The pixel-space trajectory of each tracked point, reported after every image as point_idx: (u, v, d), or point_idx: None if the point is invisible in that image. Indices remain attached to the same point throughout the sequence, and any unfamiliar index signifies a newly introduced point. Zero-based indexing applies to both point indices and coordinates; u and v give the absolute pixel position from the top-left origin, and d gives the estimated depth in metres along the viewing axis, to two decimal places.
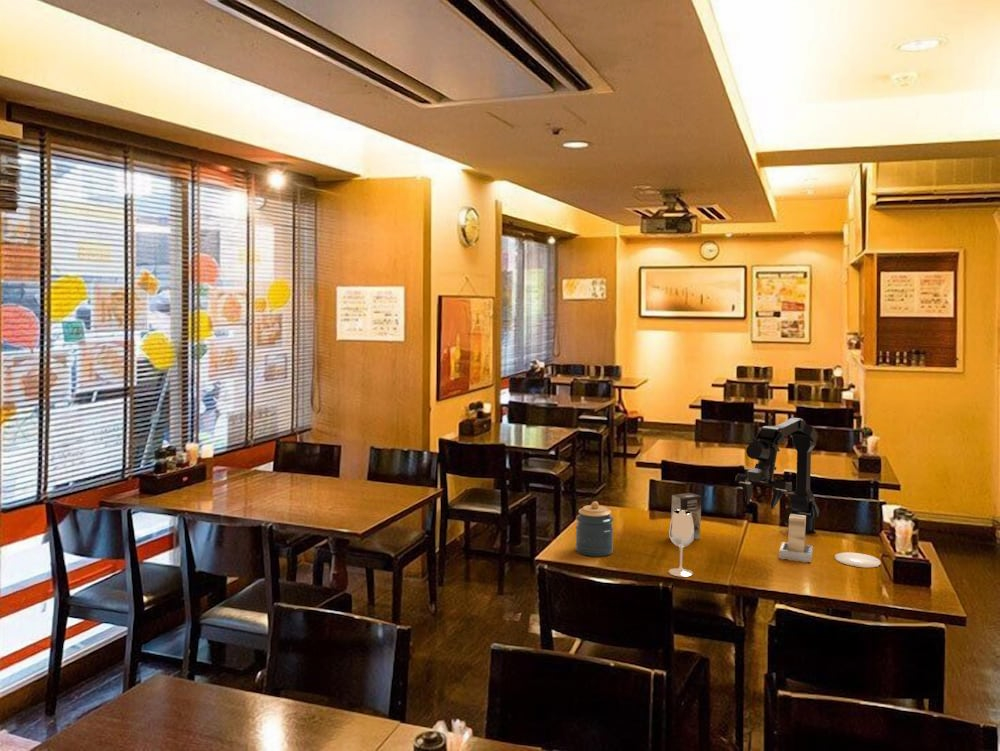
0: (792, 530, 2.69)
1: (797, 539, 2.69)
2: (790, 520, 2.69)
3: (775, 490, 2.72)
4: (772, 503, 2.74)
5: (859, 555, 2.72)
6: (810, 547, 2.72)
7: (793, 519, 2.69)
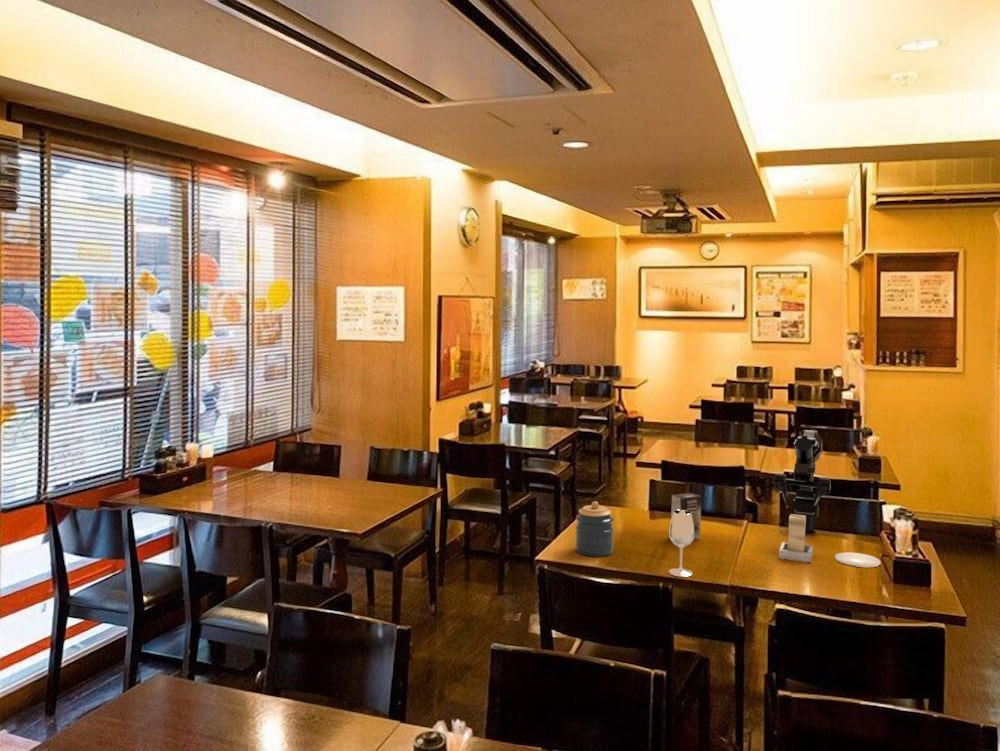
0: (792, 530, 2.69)
1: (797, 539, 2.69)
2: (790, 520, 2.69)
3: (820, 485, 2.77)
4: (815, 499, 2.76)
5: (859, 555, 2.72)
6: (810, 547, 2.72)
7: (793, 519, 2.69)
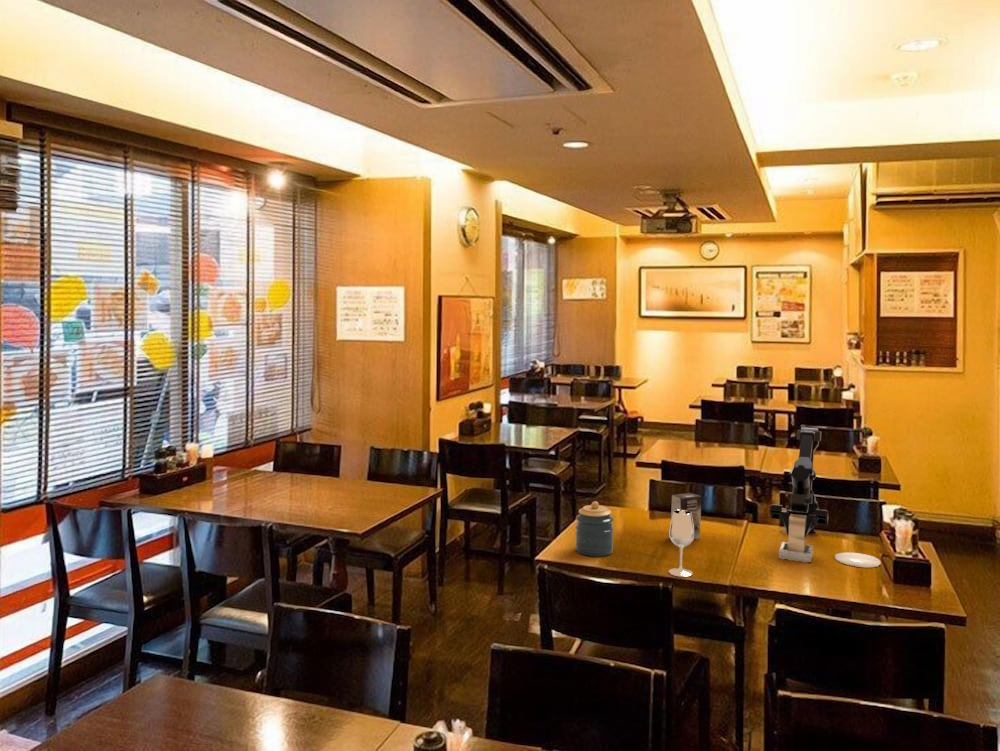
0: (792, 530, 2.69)
1: (797, 539, 2.69)
2: (790, 520, 2.69)
3: (811, 516, 2.70)
4: (806, 530, 2.69)
5: (859, 555, 2.72)
6: (810, 547, 2.72)
7: (793, 519, 2.69)
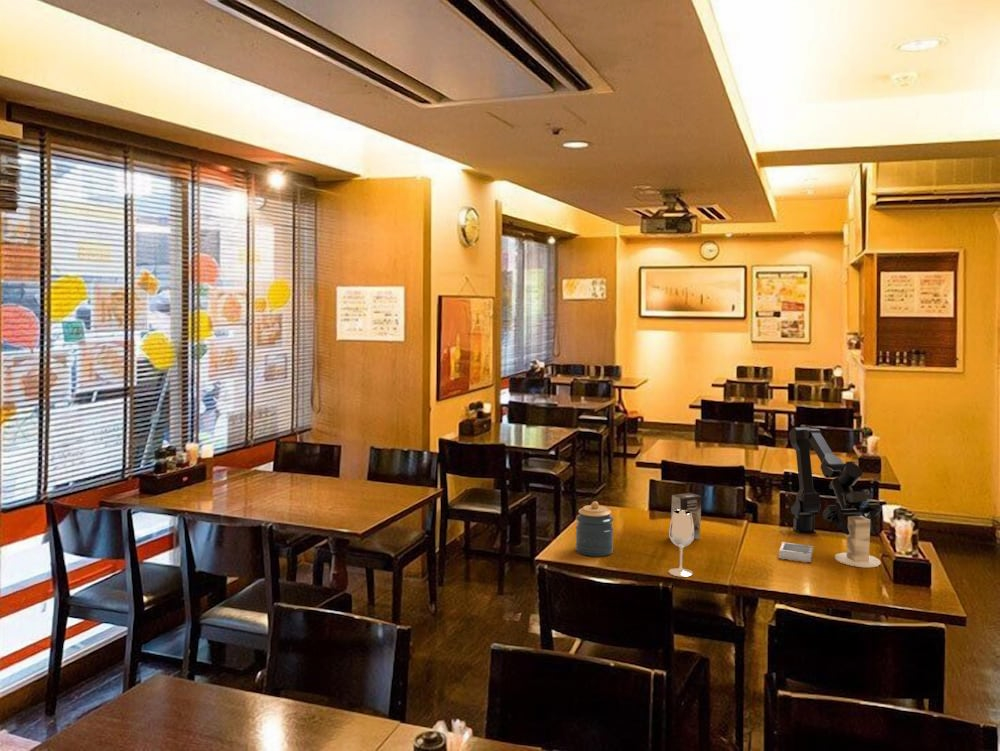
0: (859, 533, 2.64)
1: (863, 541, 2.65)
2: (857, 523, 2.64)
3: (874, 511, 2.69)
4: (873, 526, 2.67)
5: None
6: (810, 547, 2.72)
7: (860, 521, 2.64)
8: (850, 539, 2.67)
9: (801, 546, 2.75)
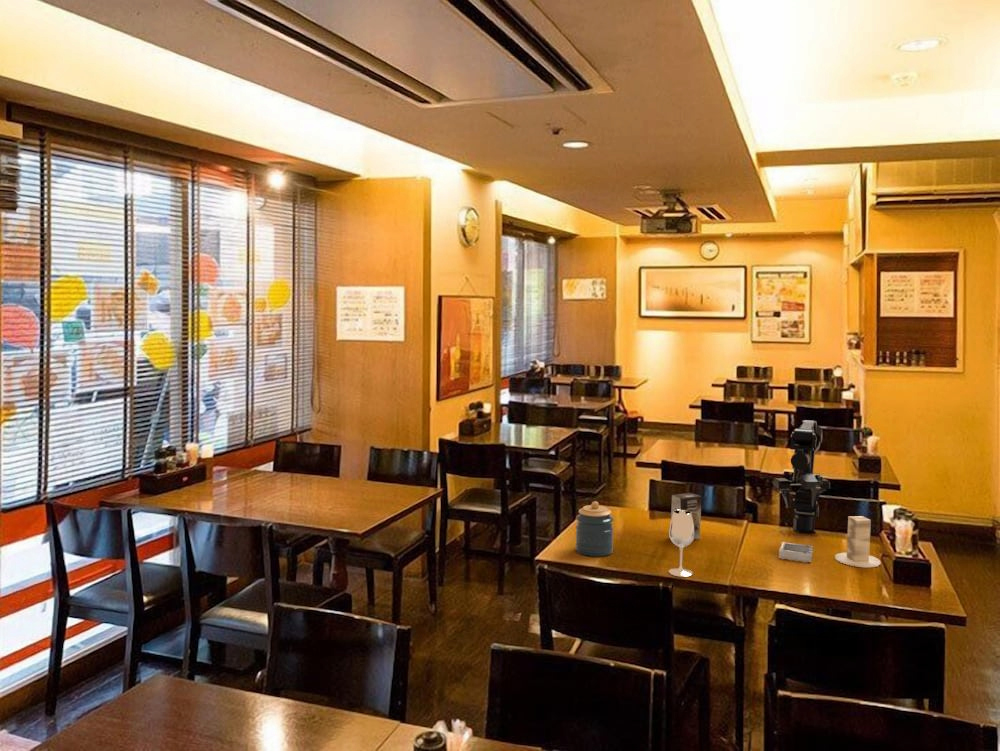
0: (859, 533, 2.64)
1: (864, 541, 2.65)
2: (858, 523, 2.64)
3: (821, 490, 2.84)
4: (815, 502, 2.86)
5: None
6: (810, 547, 2.72)
7: (860, 522, 2.64)
8: (850, 539, 2.67)
9: (801, 546, 2.75)
